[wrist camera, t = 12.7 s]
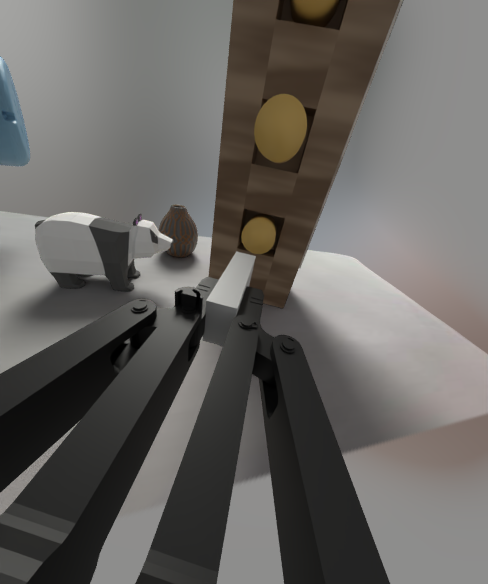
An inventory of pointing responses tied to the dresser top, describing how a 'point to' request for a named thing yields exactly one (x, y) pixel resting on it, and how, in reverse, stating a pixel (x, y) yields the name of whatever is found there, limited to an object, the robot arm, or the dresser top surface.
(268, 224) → the button low
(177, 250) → the vase
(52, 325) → the dresser top surface
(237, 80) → the button column
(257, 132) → the button mid
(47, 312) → the dresser top surface
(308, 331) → the dresser top surface
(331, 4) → the button top
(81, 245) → the giant panda
